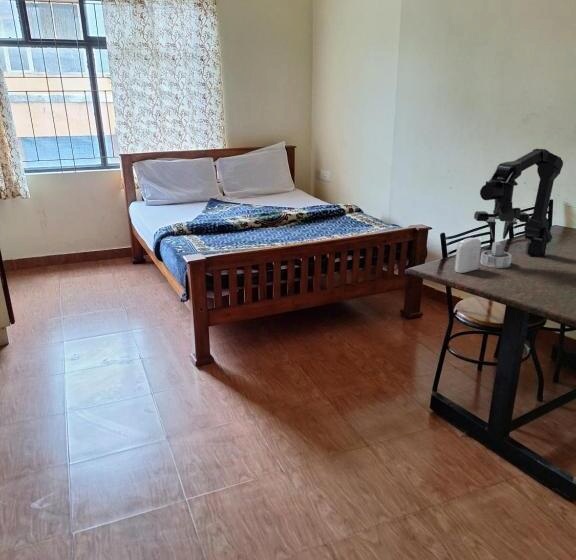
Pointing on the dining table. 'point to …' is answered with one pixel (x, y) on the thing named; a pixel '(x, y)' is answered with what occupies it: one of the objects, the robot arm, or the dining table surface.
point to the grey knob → (496, 250)
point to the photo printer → (467, 255)
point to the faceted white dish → (495, 260)
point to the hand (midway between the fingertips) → (498, 238)
